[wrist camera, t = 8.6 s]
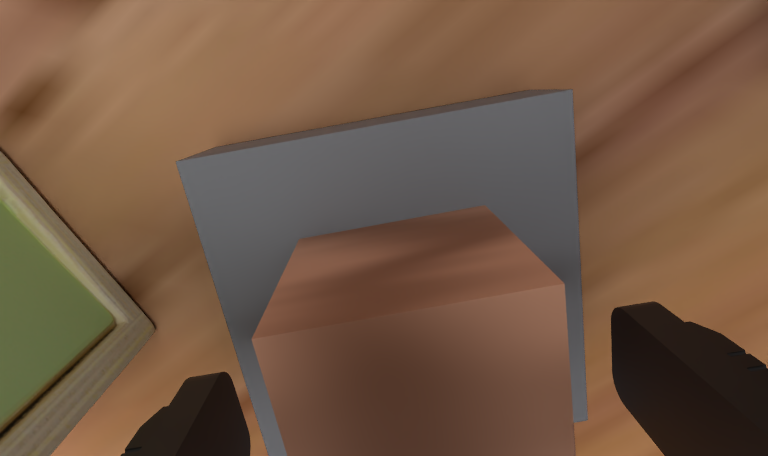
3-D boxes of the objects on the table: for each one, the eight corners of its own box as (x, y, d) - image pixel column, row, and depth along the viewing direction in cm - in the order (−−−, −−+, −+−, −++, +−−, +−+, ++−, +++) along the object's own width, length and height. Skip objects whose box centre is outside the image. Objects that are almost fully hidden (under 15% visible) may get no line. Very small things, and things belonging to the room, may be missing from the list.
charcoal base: (530, 89, 14) (572, 89, 11) (550, 363, 17) (587, 420, 14) (215, 147, 14) (175, 161, 11) (289, 407, 17) (273, 472, 14)
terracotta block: (484, 205, 12) (565, 283, 7) (503, 365, 13) (580, 521, 8) (299, 238, 12) (251, 339, 7) (338, 394, 13) (320, 564, 9)
